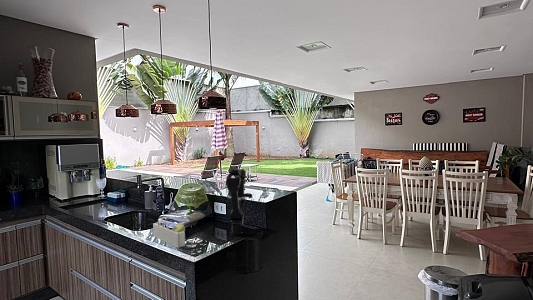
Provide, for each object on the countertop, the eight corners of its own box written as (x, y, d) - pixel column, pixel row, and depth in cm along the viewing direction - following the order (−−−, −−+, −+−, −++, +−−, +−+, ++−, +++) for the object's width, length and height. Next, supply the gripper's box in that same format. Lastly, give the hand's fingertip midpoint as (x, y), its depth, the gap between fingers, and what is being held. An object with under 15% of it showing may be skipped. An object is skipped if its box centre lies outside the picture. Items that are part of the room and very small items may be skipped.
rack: (185, 245, 167) (184, 226, 167) (177, 247, 164) (177, 228, 163) (160, 234, 188) (160, 217, 188) (153, 236, 185) (153, 218, 184)
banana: (189, 220, 195) (172, 232, 176) (192, 227, 196) (175, 241, 177) (173, 223, 199) (154, 236, 180) (175, 231, 200) (157, 244, 181)
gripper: (242, 184, 215) (242, 205, 216) (221, 187, 202) (222, 210, 202) (252, 186, 207) (253, 207, 208) (232, 189, 194) (232, 212, 194)
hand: (240, 209), depth 203 cm, fingers closed
